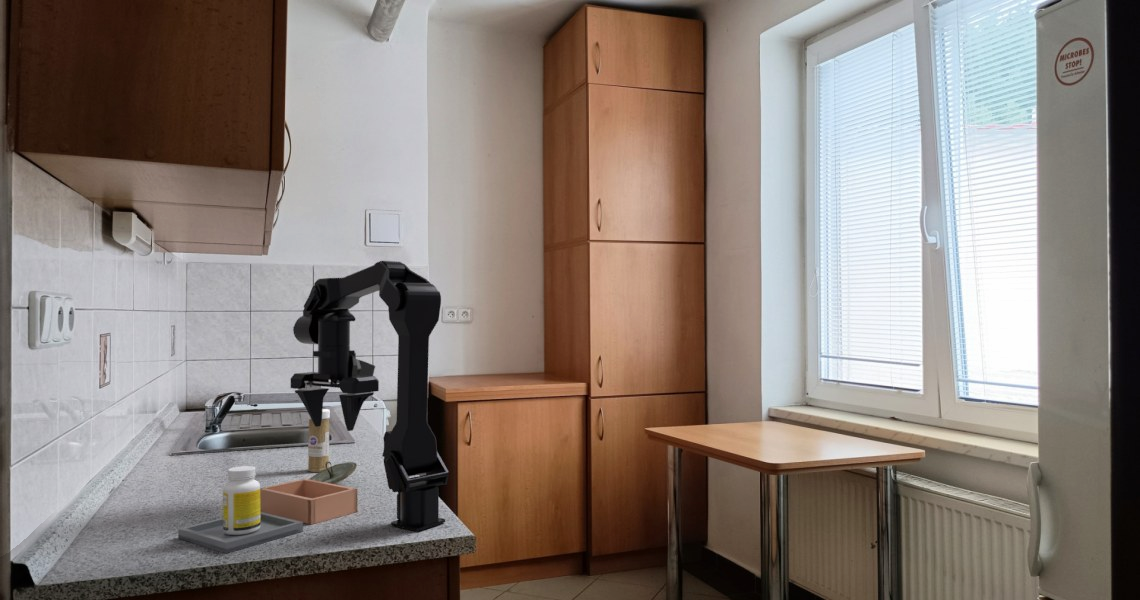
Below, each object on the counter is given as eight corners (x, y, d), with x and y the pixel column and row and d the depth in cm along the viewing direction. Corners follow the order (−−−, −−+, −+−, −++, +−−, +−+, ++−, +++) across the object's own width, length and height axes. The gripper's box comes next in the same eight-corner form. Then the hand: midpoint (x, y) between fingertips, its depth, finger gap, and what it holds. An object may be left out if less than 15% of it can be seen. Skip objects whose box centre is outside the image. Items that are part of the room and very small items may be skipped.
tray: (302, 531, 120) (302, 522, 120) (226, 553, 109) (226, 543, 109) (254, 519, 127) (254, 510, 127) (178, 538, 116) (178, 528, 116)
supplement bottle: (267, 527, 120) (267, 465, 120) (244, 537, 115) (244, 472, 115) (239, 524, 121) (238, 464, 122) (215, 534, 116) (214, 471, 116)
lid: (364, 487, 150) (364, 462, 150) (314, 494, 145) (314, 468, 145) (346, 477, 159) (346, 454, 159) (298, 484, 153) (298, 459, 153)
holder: (357, 511, 132) (357, 488, 132) (311, 524, 124) (311, 500, 124) (304, 500, 140) (304, 478, 140) (258, 511, 132) (258, 488, 132)
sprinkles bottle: (304, 472, 164) (304, 410, 164) (312, 468, 168) (312, 408, 168) (325, 472, 164) (325, 410, 164) (332, 468, 168) (332, 408, 168)
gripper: (400, 345, 143) (400, 427, 143) (336, 342, 153) (335, 419, 153) (354, 347, 134) (354, 435, 134) (288, 344, 144) (288, 426, 144)
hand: (333, 428), depth 141 cm, fingers open, 9 cm apart
